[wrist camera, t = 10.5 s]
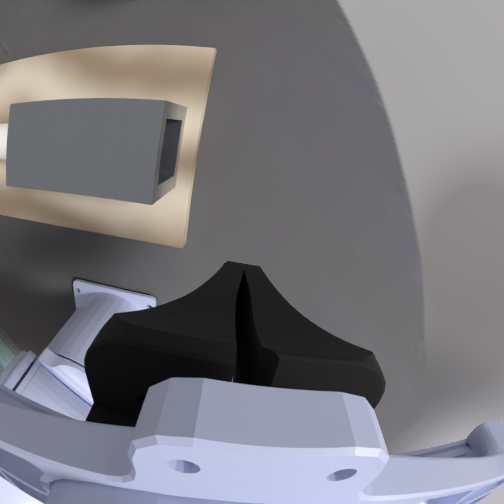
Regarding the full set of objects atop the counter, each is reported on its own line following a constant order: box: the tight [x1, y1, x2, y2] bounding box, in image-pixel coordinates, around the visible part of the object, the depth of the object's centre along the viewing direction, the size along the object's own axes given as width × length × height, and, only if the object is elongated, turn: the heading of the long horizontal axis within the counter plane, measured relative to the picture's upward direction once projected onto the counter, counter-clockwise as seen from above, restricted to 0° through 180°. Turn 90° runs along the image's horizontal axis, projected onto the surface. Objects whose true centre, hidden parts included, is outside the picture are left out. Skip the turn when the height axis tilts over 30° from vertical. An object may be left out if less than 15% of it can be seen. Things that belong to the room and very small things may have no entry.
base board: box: [0, 45, 217, 248], centre depth 18 cm, size 14×28×1 cm, turn 80°
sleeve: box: [6, 98, 187, 205], centre depth 16 cm, size 5×11×5 cm, turn 80°
